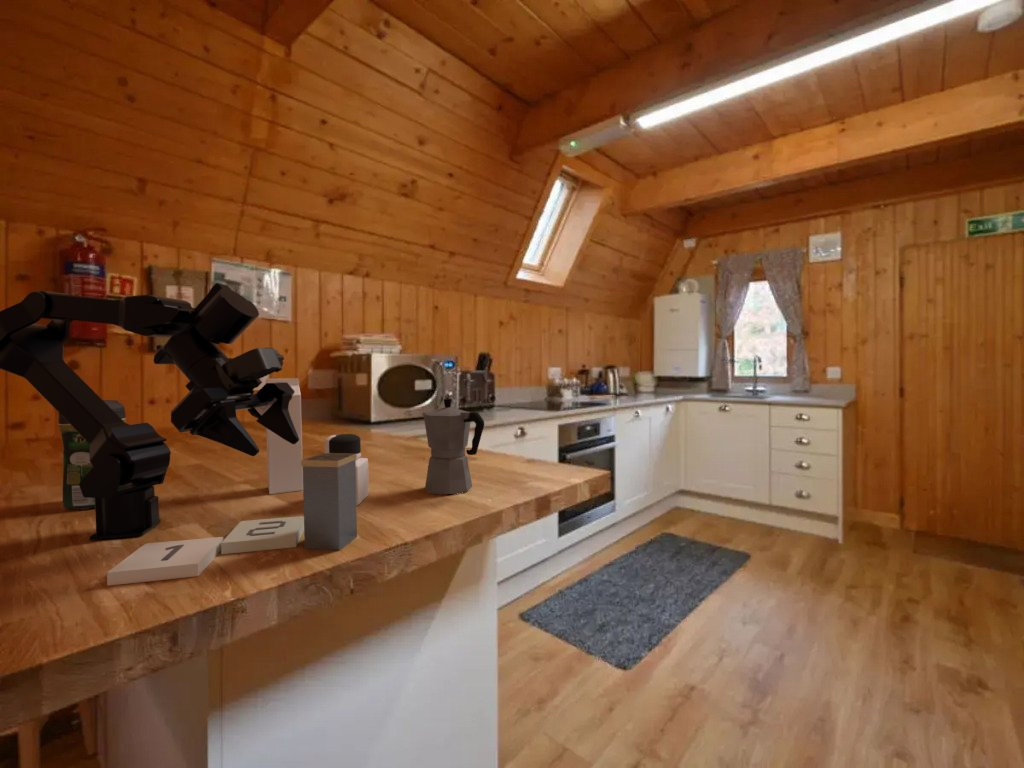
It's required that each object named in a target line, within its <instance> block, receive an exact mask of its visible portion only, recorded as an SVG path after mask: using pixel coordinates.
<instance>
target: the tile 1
mask: <svg viewBox="0 0 1024 768" xmlns="http://www.w3.org/2000/svg"><path fill="white" fill-rule="evenodd" d="M223 540H224V536H215V537H206V538H196V539H195V538H193V539H184V540H183V539H182V540H172V541H171V540H170V541H160V542H159V541H157V542H149V543H148V542H147V543H144V544H143V545H142V546H140V547H139V548H138V549H136V550H135V551H133V552H132V553H131V554H130V555H128V556H127V557H125V558H124V559H123V560H122V561H121V562H119V563H117V565H115V566H114V567H113V568H111V569H110V570H108V571H107V572H106V578H107V579H106V581H107V587H108V586H118V585H126V584H137V583H138V584H139V583H145V582H146V583H147V582H155V581H164V580H174V579H184V578H185V579H186V578H194V577H199V576H200V575H201V574H202V573H203V572H204V570H205V569H206V568H207V567H208V566H209V565H210V564H211V562H212V561H214V559H215V558H216V557H217V556H218V554H219V553H221V543H222V541H223Z"/></svg>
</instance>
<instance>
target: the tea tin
mask: <svg viewBox="0 0 1024 768" xmlns="http://www.w3.org/2000/svg"><path fill="white" fill-rule="evenodd" d="M355 460H356V454H347V453H325V452H320V453H318V454H314V455H313V456H310V457H306V458H304V459H303V460H301V466H303V490H302V494H303V495H302V497H303V516H304V532H303V533H304V549H305V550H321V551H322V550H323V551H339V552H340V551H341V550H343V549H344V548H345V547H347V545H349V544H350V543H351V542H352V541H354V540H355V539H357V537H358V522H357V521H358V519H357V518H358V515H357V513H358V512H357V511H358V510H357V506H356V463H355Z"/></svg>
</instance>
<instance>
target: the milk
mask: <svg viewBox="0 0 1024 768" xmlns="http://www.w3.org/2000/svg"><path fill="white" fill-rule="evenodd" d="M276 382H285V383H288V384H289V385H290V386H291V388H292V389H293V390H294V394H293V395H292V399H291V400H290V401H289V406H288V410H289V414H290V417H291V420H292V422H293V425H294V427H295V430H296V432H297V435H298V437H299V441H298V442H297V443H296V444H291V443H290V442H288V441H286V440H284V439H283V438H281V437H280V436H278V435H277V434H275V433H274V432H272V431H270V430H269V429H267V428H266V427H265V428H266V429H265V430H266V431H265V432H266V435H265V436H266V464H267V466H266V468H267V469H266V470H267V488H268V492H269V495H276V494H282V493H283V494H285V493H290V492H291V493H292V492H297V491H298V492H299V491H303V466H301V460H304V459H303V427H302V425H303V423H302V393H301V389H300V379H299V378H297V377H292V378H291V377H287V378H285V377H283V378H266V379H265V384H266V383H276Z"/></svg>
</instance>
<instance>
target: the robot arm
mask: <svg viewBox="0 0 1024 768" xmlns="http://www.w3.org/2000/svg"><path fill="white" fill-rule="evenodd" d="M259 316H260V312H259V310H258V308H257V307H256V305H255V304H254V303H252V301H250V300H248V299H247V298H245V297H244V296H243V295H241V294H239V293H238V292H236V291H234V290H233V289H231V288H230V287H229V285H227V284H222V283H218V282H216V283H215V284H214V285H213V286H212V287H211V288H210V289H209V291H208V293H207V295H206V296H204V298H202V300H201V301H200V302H199V303H198V304H197V305H196V307H193V306H192V304H191V303H190V302H188V301H187V300H183V299H178V298H170V297H165V296H158V295H152V294H138V295H128V296H125V297H122V298H117V299H116V298H115V299H112V298H111V299H110V298H102V297H101V298H100V297H91V296H81V295H74V294H73V295H72V294H68V293H62V292H57V291H56V292H55V291H48V290H47V291H46V290H37V291H31V292H30V293H28V294H27V295H26V296H25V297H24V298H23V299H22V300H21V301H20V302H18V303H16V304H13V305H11V306H9V307H7V308H5V309H2V310H0V370H2V371H5V372H8V373H11V374H12V375H16V376H19V377H21V378H23V379H25V380H26V381H27V382H28V383H29V384H30V385H31V386H32V387H33V388H34V389H35V390H36V391H37V392H38V393H39V394H40V395H41V396H42V397H43V398H44V399H45V400H46V401H47V402H48V403H49V404H50V405H51V406H52V407H53V409H55V410H56V411H57V413H58V412H59V413H60V414H61V415H62V416H63V417H64V418H65V419H66V420H67V421H68V422H69V423H70V424H71V425H72V426H73V427H74V428H75V429H76V430H77V431H78V432H79V433H80V434H81V435H82V436H83V437H84V438H85V439H86V440H87V441H88V443H89V444H90V462H91V464H92V465H93V468H92V469H91V470H90V471H89V473H88V474H87V475H86V476H85V477H84V478H83V479H82V481H81V482H80V483H79V486H80V489H81V492H82V494H83V497H85V498H95V507H94V509H95V510H94V513H95V532H94V533H93V534H90V535H89V540H90V541H93V540H103V539H104V540H105V539H115V538H116V539H117V538H118V539H119V538H129V537H138V536H139V537H140V536H143V535H144V534H147V533H148V532H149V531H151V530H152V529H153V528H155V527H156V526H157V525H159V524H161V521H162V520H161V518H160V501H159V496H158V495H155V486H157V485H162V484H163V483H164V481H165V478H166V474H167V472H168V469H169V467H170V463H171V462H170V461H171V454H172V452H171V450H170V447H169V446H168V444H167V443H165V442H167V440H168V439H167V438H166V437H164V436H162V435H160V434H159V433H158V432H157V431H156V429H155V428H154V426H152V425H151V424H150V423H148V422H140V423H133V424H129V423H127V422H126V423H125V422H124V421H123V420H122V419H121V418H120V417H119V416H118V415H117V414H116V413H115V412H114V411H113V410H112V409H111V408H110V407H109V406H108V405H107V404H106V403H105V402H104V401H103V400H104V399H102V398H101V397H100V395H98V394H97V393H96V392H95V391H94V390H93V388H91V387H90V386H89V384H87V383H86V382H85V381H84V380H83V378H81V377H80V376H79V375H78V374H77V373H76V372H75V371H74V370H73V369H72V368H71V367H70V366H69V365H68V364H67V362H65V360H64V354H65V353H64V351H65V346H64V345H63V344H64V342H65V341H66V340H67V339H68V338H69V337H70V329H71V323H72V322H73V321H80V322H86V323H87V322H89V323H97V324H107V325H113V326H117V327H120V328H121V329H122V330H124V331H127V332H130V333H133V334H136V335H140V336H143V337H155V338H156V337H157V338H158V337H159V338H169V339H168V340H167V341H166V342H165V343H164V345H163V344H157V345H156V347H155V348H156V351H155V354H153V355H154V356H153V364H155V365H175V366H176V367H177V369H179V371H181V373H182V374H183V375H184V376H185V378H186V379H187V380H189V381H188V383H187V384H185V388H186V389H187V391H189V392H188V393H187V394H186V395H185V396H184V397H183V398H182V399H181V400H180V401H179V402H178V404H177V405H176V406H174V408H173V409H172V410H171V411H170V422H171V423H170V424H172V425H173V426H174V427H175V429H176V430H177V431H178V432H179V433H185V432H189V434H190V435H192V436H200V437H202V438H204V439H207V440H211V441H214V442H216V443H219V444H221V445H224V446H227V447H229V448H232V449H234V450H236V451H239V452H241V453H244V454H246V455H248V456H252V457H256V455H258V454H259V453H260V449H259V447H258V445H257V444H256V442H255V441H254V439H253V438H252V436H251V435H250V434H249V432H248V431H247V429H246V428H245V427H244V425H243V423H241V422H240V419H238V417H237V412H238V411H245V410H247V411H248V413H249V414H250V415H251V417H254V418H257V419H256V423H258V424H260V425H261V426H263V427H264V428H267V429H269V430H270V431H272V432H274V433H275V434H277V435H278V436H280V437H281V438H283V439H284V440H286V441H288V442H290V443H291V444H296V443H297V442H298V441H299V437H298V435H297V432H296V430H295V427H294V425H293V422H292V420H291V417H290V414H289V410H288V406H289V401H290V400H291V399H292V395H293V394H294V390H293V389H292V388H291V386H290V385H289V384H288V383H285V382H276V383H266V382H265V384H264V385H263V386H262V387H261V388H260V389H259V390H258V391H257V392H256V393H254V392H255V391H254V390H255V389H257V388H258V387H259V386H260V385H261V384H262V383H263V381H262V380H261V379H262V378H265V377H266V376H269V375H271V374H273V373H279V372H281V371H282V370H283V365H284V360H285V356H284V355H283V354H280V352H279V350H278V349H274V348H273V347H257V348H254V349H253V348H252V349H250V350H248V351H245V352H244V353H241V354H239V355H237V356H235V357H233V358H232V357H228V356H227V355H226V354H225V352H224V351H223V350H222V349H221V348H220V347H219V346H218V345H221V344H225V345H231V344H233V343H234V342H235V341H237V339H238V338H239V337H240V336H241V335H242V334H243V333H244V332H245V331H246V330H247V328H248V327H250V325H251V324H252V323H253V322H254V321H255V320H256V319H257V318H258V317H259ZM42 319H44V320H45V319H46V320H51V321H49V323H47V325H44V324H37V323H38V322H39V321H40V320H42Z"/></svg>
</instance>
